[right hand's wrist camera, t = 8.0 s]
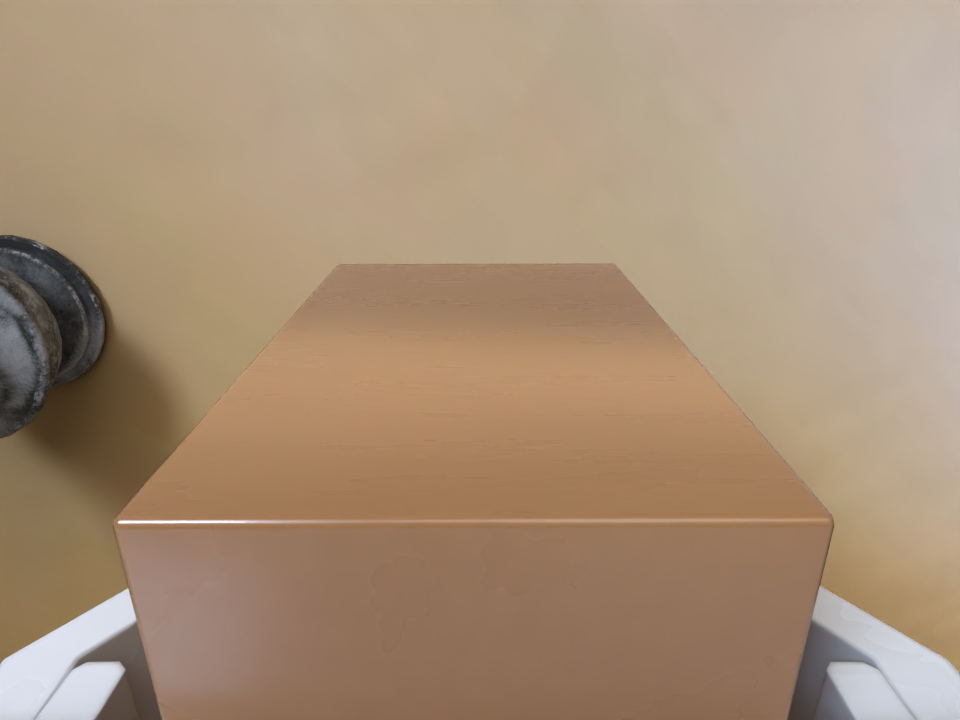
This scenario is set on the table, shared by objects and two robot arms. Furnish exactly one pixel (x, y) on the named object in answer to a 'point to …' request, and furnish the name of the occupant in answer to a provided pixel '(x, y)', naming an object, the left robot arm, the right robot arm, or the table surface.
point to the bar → (474, 517)
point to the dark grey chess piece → (42, 327)
